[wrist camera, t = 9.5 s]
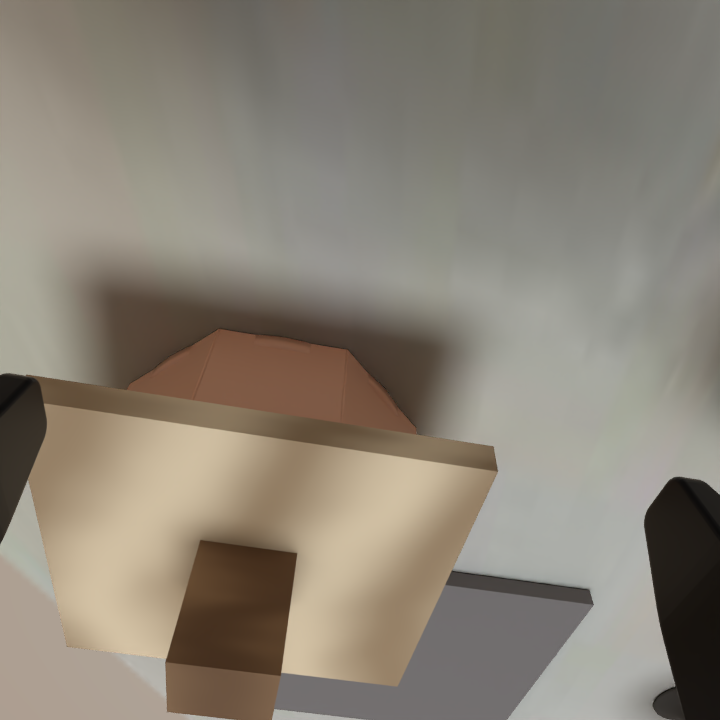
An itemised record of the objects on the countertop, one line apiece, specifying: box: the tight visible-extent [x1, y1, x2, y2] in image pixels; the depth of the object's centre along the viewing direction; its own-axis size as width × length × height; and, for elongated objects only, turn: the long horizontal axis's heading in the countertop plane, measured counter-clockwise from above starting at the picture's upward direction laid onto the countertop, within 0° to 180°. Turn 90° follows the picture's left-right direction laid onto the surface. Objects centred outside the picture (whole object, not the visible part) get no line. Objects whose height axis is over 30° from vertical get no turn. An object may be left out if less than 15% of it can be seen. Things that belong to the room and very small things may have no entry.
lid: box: [26, 375, 498, 720], centre depth 20 cm, size 14×14×5 cm
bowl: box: [127, 329, 416, 434], centre depth 24 cm, size 12×12×5 cm
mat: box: [274, 572, 594, 720], centre depth 35 cm, size 16×16×1 cm
